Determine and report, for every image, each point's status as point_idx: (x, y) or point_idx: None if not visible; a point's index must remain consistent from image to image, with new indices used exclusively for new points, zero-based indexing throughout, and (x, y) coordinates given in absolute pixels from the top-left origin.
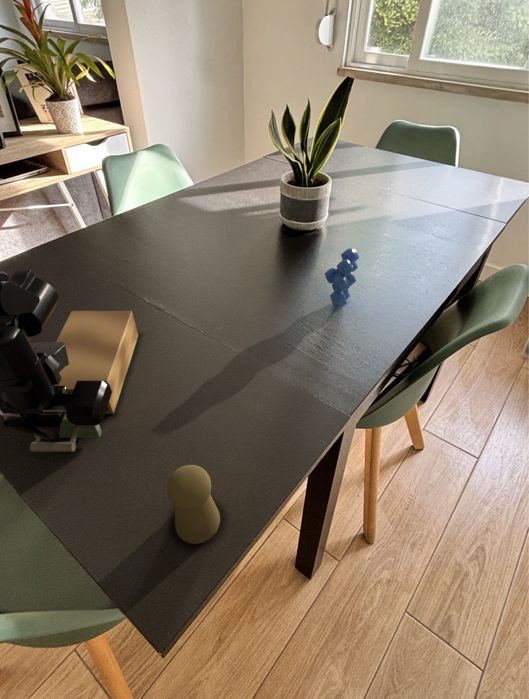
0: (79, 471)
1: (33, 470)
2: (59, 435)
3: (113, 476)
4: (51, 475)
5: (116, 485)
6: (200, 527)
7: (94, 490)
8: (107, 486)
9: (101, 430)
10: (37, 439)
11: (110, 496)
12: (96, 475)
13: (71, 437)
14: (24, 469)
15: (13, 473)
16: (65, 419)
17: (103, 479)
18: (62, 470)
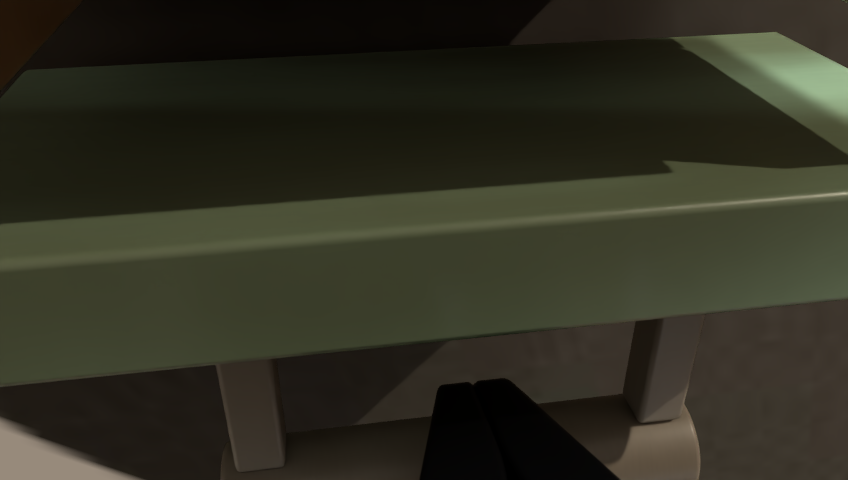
0: (584, 359)
1: (219, 392)
2: (506, 381)
3: (821, 362)
4: (384, 407)
5: (836, 408)
6: None
7: (703, 450)
8: (781, 420)
9: (790, 43)
10: (256, 454)
11: (798, 464)
12: (708, 370)
13: (650, 383)
14: (136, 394)
15: (65, 430)
16: (630, 318)
17: (756, 387)
18: (453, 367)
